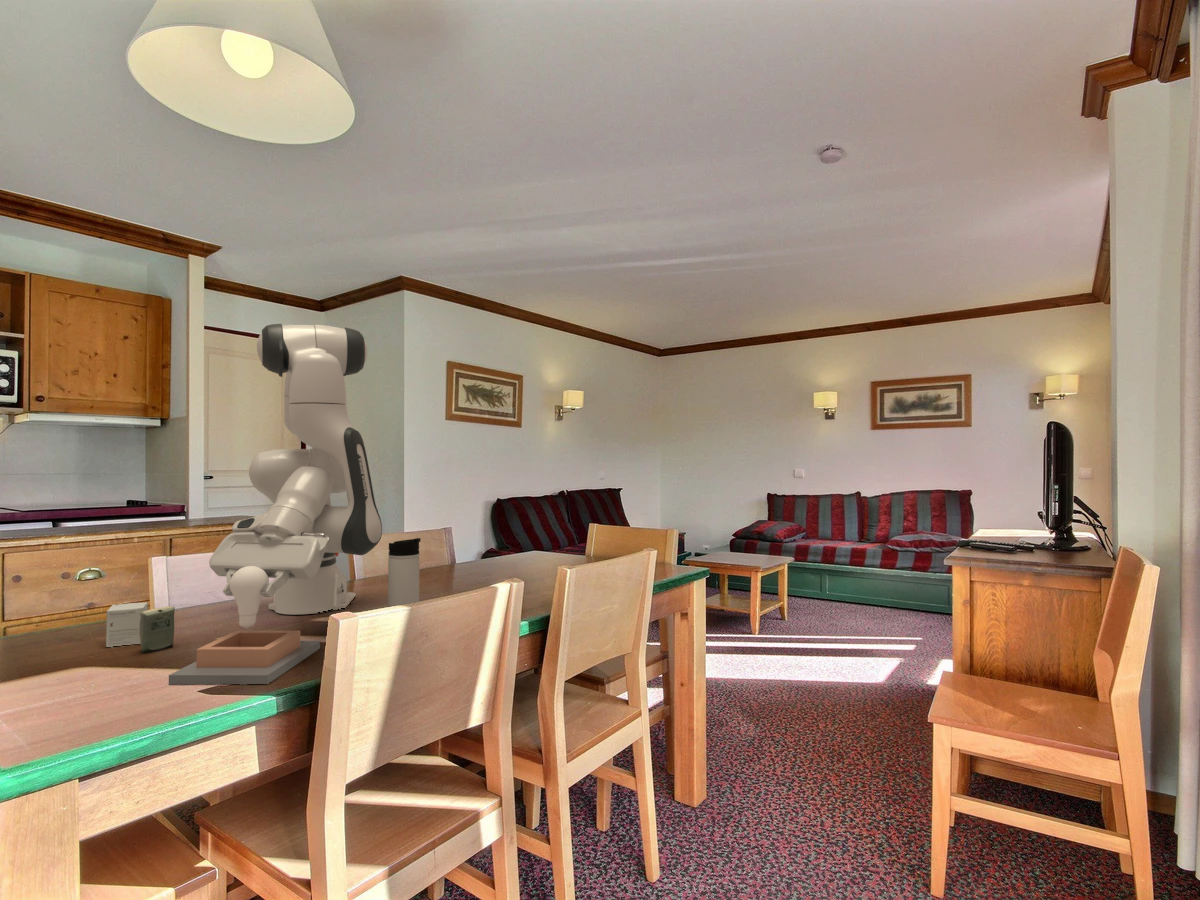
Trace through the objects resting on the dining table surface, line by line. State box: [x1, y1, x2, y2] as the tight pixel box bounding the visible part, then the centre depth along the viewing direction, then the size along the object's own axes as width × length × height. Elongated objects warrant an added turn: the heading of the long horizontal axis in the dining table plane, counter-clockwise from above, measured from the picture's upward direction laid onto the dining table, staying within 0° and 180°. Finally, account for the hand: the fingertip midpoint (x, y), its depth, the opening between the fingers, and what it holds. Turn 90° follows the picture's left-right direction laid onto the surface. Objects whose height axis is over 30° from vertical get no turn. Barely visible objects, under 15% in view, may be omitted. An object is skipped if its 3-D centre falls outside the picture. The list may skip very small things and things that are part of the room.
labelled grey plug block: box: [139, 605, 176, 654], centre depth 124 cm, size 6×5×8 cm
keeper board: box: [168, 630, 321, 686], centre depth 115 cm, size 20×16×4 cm
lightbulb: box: [230, 566, 270, 630], centre depth 114 cm, size 6×6×11 cm
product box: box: [105, 601, 149, 648], centre depth 129 cm, size 6×6×7 cm
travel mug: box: [387, 537, 422, 608], centre depth 136 cm, size 6×7×20 cm
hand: (246, 594), depth 114 cm, fingers closed on lightbulb, 6 cm apart
